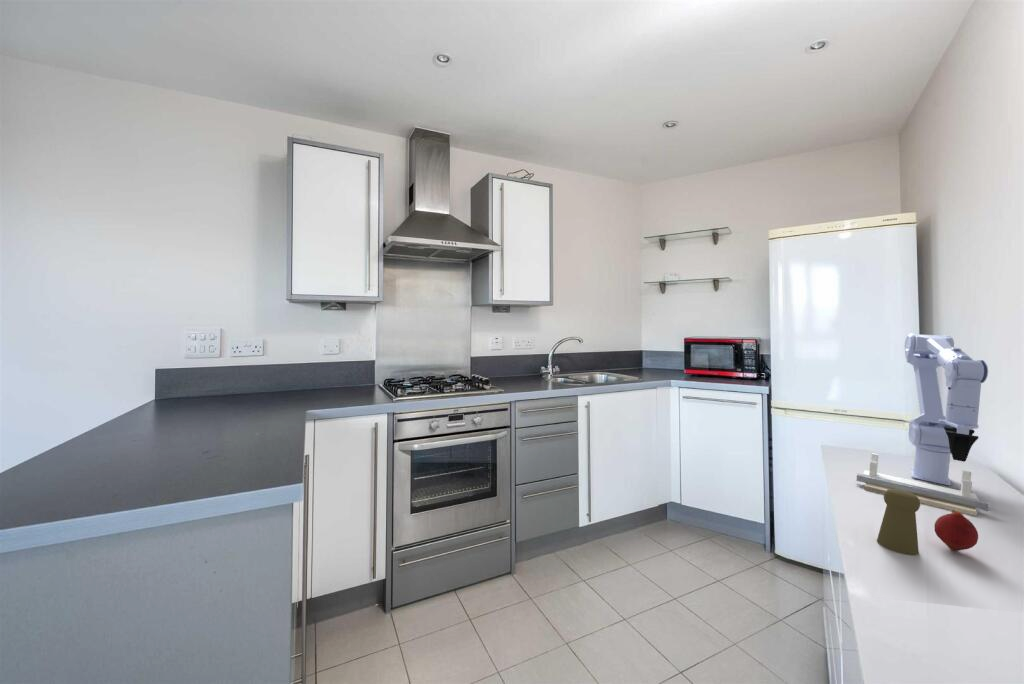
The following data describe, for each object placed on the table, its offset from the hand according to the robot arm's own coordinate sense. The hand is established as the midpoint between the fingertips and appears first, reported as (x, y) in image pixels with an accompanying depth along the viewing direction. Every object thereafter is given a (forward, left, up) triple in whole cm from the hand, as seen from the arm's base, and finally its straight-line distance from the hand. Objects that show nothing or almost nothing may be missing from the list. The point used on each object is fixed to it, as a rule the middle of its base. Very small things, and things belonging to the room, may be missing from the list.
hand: (957, 457), depth 108 cm
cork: (+48, -10, -11) cm, 50 cm away
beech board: (+9, -7, -10) cm, 16 cm away
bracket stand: (+1, -7, -10) cm, 13 cm away
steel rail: (+9, -7, -9) cm, 15 cm away
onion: (+41, -2, -11) cm, 42 cm away
